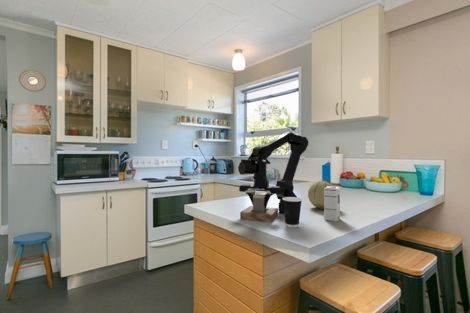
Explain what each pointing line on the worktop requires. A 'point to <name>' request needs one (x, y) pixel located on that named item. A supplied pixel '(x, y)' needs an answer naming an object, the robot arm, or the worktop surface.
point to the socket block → (259, 214)
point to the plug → (259, 203)
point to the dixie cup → (292, 211)
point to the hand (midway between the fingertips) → (259, 207)
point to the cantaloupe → (318, 193)
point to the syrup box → (332, 203)
